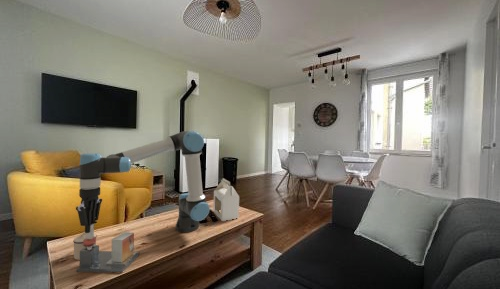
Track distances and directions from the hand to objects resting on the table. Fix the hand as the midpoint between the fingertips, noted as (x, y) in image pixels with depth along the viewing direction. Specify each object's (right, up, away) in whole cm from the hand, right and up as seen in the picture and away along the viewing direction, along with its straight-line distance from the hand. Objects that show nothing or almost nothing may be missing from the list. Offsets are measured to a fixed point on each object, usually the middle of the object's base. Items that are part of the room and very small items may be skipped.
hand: (89, 238), depth 94 cm
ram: (0, -11, 0) cm, 11 cm away
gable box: (+54, -13, +68) cm, 88 cm away
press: (+7, -13, +4) cm, 15 cm away
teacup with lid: (-10, -13, +10) cm, 19 cm away
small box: (+12, -11, +5) cm, 18 cm away
